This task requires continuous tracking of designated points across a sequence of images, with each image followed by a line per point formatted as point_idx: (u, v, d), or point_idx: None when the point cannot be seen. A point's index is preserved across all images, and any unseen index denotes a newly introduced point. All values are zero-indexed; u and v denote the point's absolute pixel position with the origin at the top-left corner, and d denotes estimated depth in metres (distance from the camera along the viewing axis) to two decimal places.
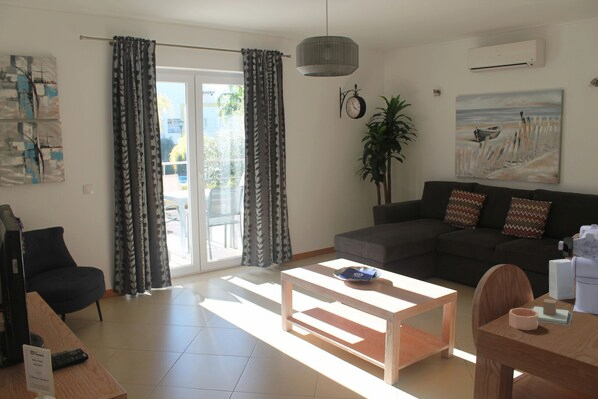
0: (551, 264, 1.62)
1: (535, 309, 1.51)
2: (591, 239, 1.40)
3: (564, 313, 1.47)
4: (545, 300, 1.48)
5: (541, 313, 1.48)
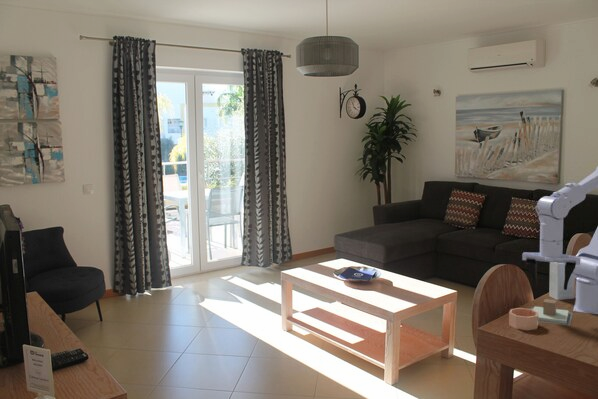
0: (552, 264, 1.62)
1: (535, 309, 1.51)
2: None
3: (564, 313, 1.47)
4: (545, 300, 1.48)
5: (541, 313, 1.48)
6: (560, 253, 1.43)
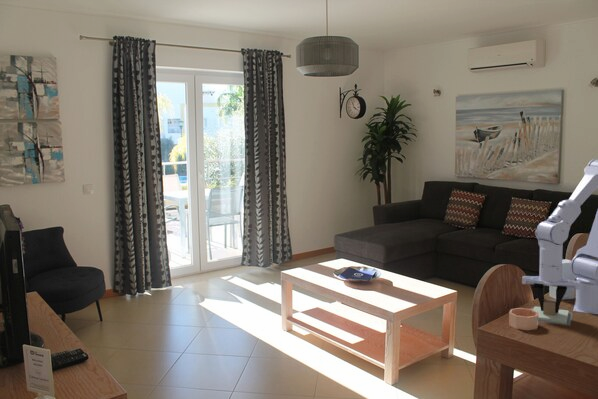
0: None
1: (535, 309, 1.51)
2: None
3: (564, 313, 1.47)
4: (545, 300, 1.48)
5: (541, 313, 1.48)
6: (559, 278, 1.44)
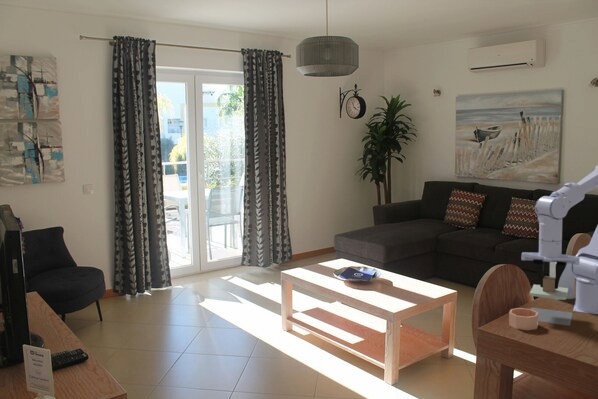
0: (552, 264, 1.62)
1: (534, 287, 1.50)
2: None
3: (564, 290, 1.46)
4: (544, 277, 1.47)
5: (541, 291, 1.47)
6: (559, 253, 1.43)
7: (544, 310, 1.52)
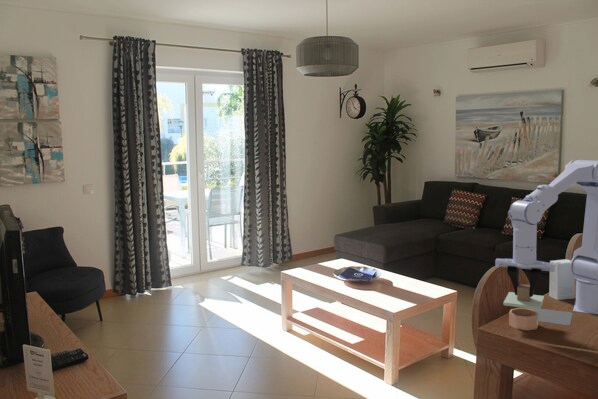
0: None
1: (509, 295, 1.45)
2: None
3: (539, 299, 1.41)
4: (519, 285, 1.41)
5: (515, 299, 1.41)
6: (533, 260, 1.38)
7: (544, 310, 1.52)
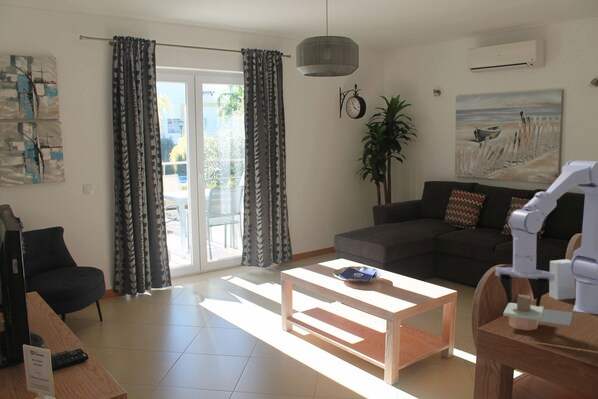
0: (552, 264, 1.62)
1: (509, 305, 1.45)
2: None
3: (539, 309, 1.41)
4: (519, 296, 1.42)
5: (515, 310, 1.42)
6: (533, 269, 1.38)
7: (544, 310, 1.52)
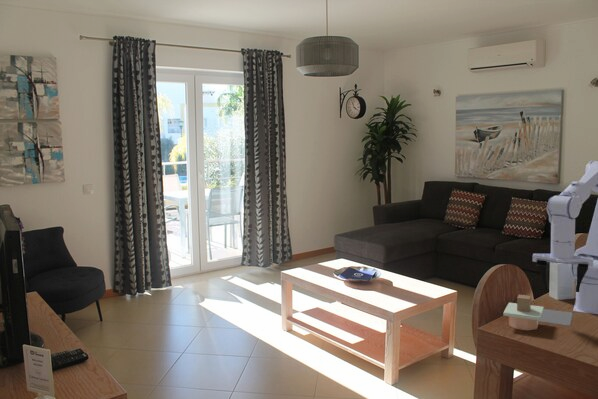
0: (552, 264, 1.62)
1: (509, 305, 1.45)
2: None
3: (539, 309, 1.41)
4: (519, 296, 1.42)
5: (515, 310, 1.42)
6: (572, 254, 1.38)
7: (544, 310, 1.52)
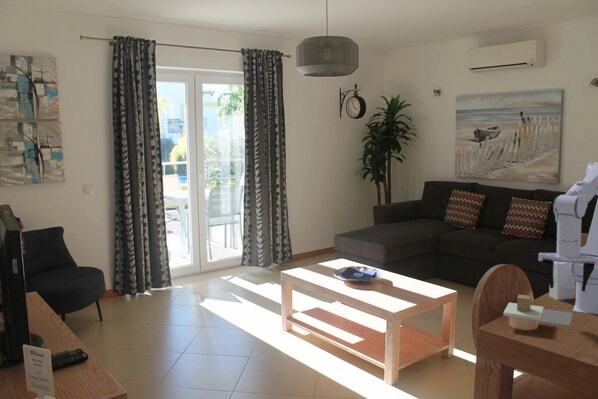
0: None
1: (509, 305, 1.45)
2: None
3: (539, 309, 1.41)
4: (519, 296, 1.42)
5: (515, 310, 1.42)
6: (578, 254, 1.38)
7: (544, 310, 1.52)
